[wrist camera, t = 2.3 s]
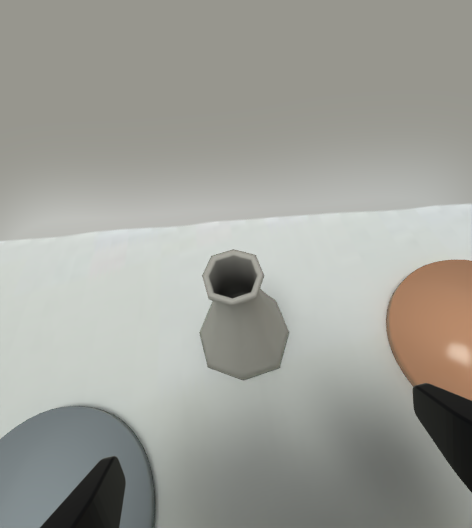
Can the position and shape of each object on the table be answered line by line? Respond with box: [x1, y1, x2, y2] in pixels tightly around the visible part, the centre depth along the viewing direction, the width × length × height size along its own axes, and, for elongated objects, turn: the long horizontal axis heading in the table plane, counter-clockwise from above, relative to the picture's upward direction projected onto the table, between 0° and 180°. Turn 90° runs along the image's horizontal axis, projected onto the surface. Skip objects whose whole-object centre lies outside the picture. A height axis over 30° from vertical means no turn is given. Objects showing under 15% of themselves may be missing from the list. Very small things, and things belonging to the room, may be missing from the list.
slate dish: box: [0, 406, 155, 528], centre depth 18 cm, size 13×13×1 cm
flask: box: [199, 249, 289, 380], centre depth 19 cm, size 7×7×10 cm
